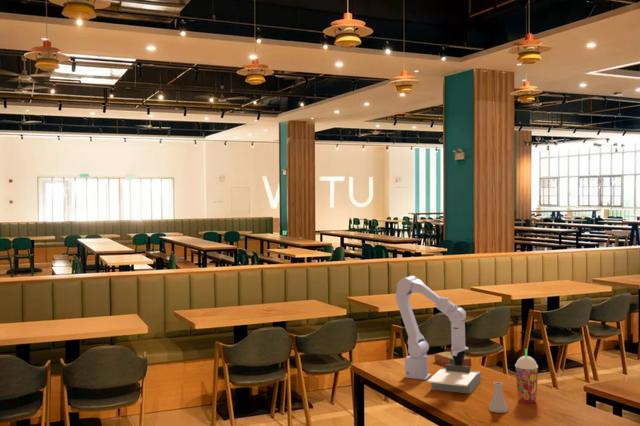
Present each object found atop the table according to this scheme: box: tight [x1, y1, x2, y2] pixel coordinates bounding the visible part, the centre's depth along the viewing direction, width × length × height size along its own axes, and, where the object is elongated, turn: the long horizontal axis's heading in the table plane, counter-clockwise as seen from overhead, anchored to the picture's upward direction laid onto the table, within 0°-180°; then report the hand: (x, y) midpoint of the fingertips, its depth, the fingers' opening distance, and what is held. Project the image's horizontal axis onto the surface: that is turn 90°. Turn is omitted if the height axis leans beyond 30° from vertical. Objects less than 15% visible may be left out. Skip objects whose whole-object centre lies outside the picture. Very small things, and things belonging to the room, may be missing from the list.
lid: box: [427, 364, 478, 387], centre depth 262 cm, size 16×18×3 cm
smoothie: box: [514, 348, 539, 404], centre depth 244 cm, size 8×8×20 cm
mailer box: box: [430, 367, 482, 395], centre depth 267 cm, size 16×18×4 cm
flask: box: [488, 381, 509, 414], centre depth 235 cm, size 7×7×10 cm
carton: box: [434, 351, 472, 367], centre depth 299 cm, size 8×16×4 cm, turn 31°
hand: (459, 368), depth 271 cm, fingers closed
